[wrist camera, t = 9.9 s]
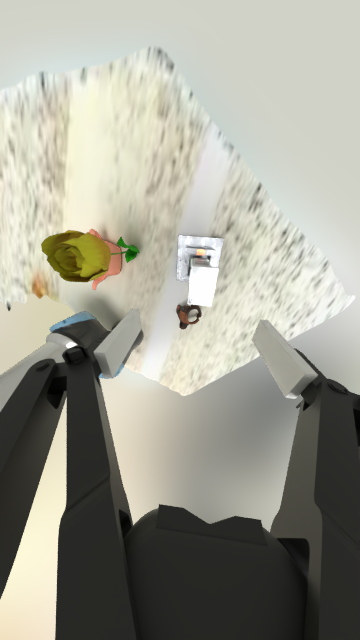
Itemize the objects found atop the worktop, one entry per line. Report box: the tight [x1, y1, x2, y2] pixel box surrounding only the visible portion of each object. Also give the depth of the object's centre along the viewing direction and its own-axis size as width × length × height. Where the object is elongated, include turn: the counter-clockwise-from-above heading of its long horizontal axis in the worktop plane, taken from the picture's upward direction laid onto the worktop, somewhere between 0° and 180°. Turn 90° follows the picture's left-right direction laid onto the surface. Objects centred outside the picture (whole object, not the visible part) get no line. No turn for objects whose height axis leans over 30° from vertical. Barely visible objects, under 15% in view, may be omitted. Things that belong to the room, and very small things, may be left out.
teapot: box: [89, 229, 121, 290], centre depth 45 cm, size 12×18×10 cm, turn 166°
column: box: [187, 257, 219, 306], centre depth 29 cm, size 4×6×21 cm
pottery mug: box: [176, 304, 201, 329], centre depth 56 cm, size 12×10×8 cm
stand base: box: [177, 235, 224, 281], centre depth 41 cm, size 14×14×12 cm
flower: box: [41, 230, 139, 282], centre depth 34 cm, size 9×8×30 cm
